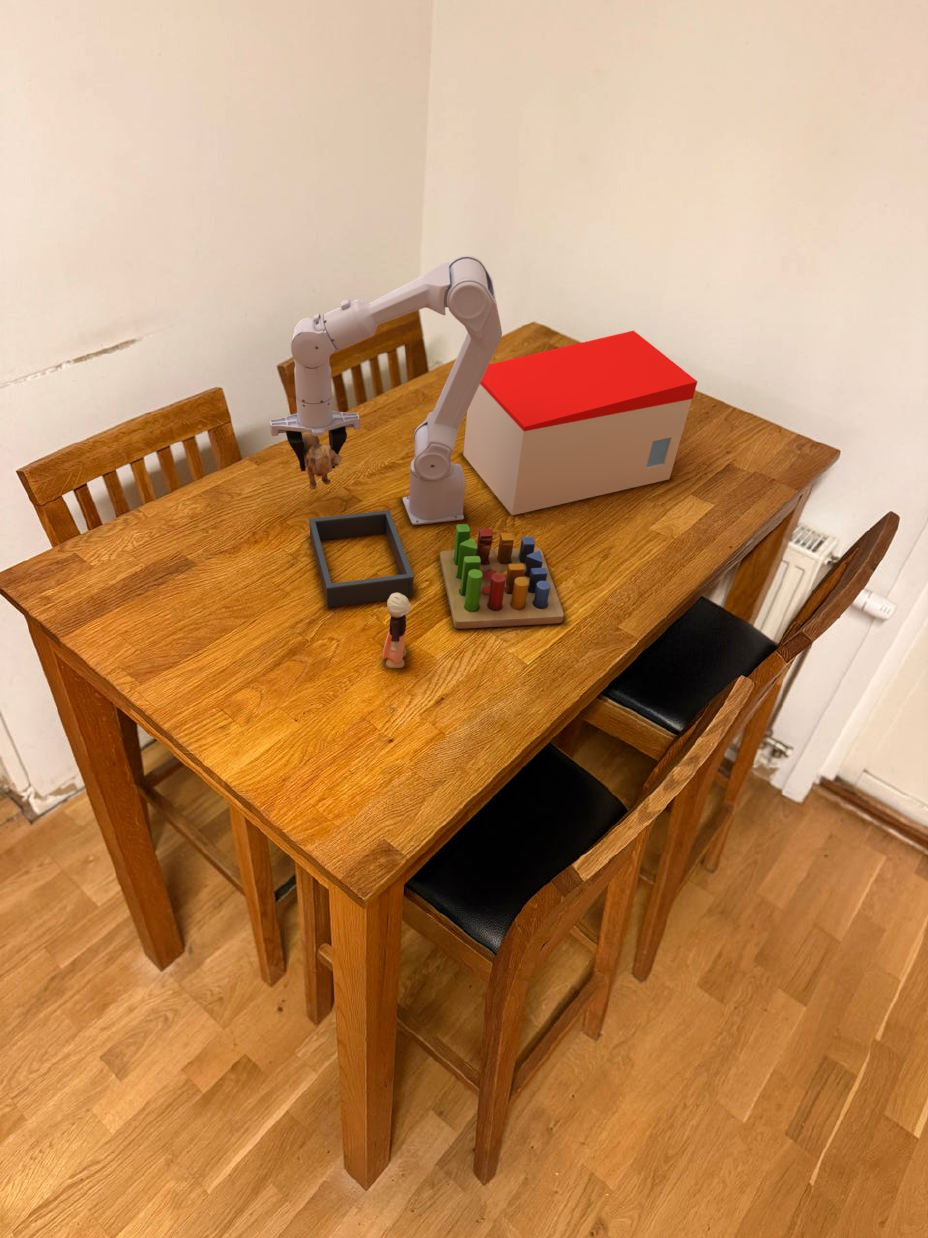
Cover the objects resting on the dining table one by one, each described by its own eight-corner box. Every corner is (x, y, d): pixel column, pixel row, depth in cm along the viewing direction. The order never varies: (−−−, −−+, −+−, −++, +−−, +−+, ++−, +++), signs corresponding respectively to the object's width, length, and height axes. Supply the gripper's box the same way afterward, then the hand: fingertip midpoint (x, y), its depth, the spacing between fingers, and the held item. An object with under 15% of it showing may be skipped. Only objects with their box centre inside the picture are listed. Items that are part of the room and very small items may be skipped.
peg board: (563, 624, 139) (572, 583, 133) (454, 630, 136) (458, 588, 131) (539, 553, 152) (546, 513, 146) (439, 558, 149) (441, 517, 143)
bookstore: (671, 478, 172) (698, 381, 157) (512, 515, 159) (526, 412, 145) (613, 424, 185) (634, 330, 170) (462, 454, 172) (471, 355, 158)
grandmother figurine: (382, 641, 133) (383, 578, 125) (407, 641, 134) (410, 578, 125) (382, 679, 128) (383, 615, 119) (409, 679, 128) (412, 615, 120)
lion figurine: (347, 493, 149) (344, 447, 142) (317, 501, 147) (313, 455, 140) (314, 449, 158) (310, 404, 151) (286, 456, 156) (280, 411, 149)
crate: (389, 529, 153) (389, 510, 151) (413, 596, 141) (413, 576, 138) (310, 538, 150) (308, 518, 147) (327, 608, 138) (326, 588, 135)
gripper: (271, 411, 137) (277, 484, 146) (363, 404, 141) (363, 475, 150) (265, 388, 142) (271, 460, 151) (355, 382, 146) (355, 452, 155)
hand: (317, 466), depth 151 cm, fingers closed on lion figurine, 4 cm apart
